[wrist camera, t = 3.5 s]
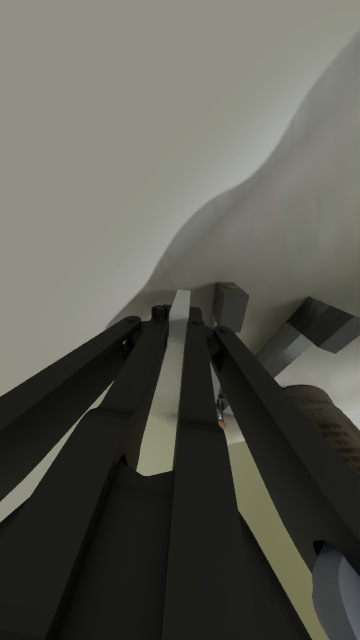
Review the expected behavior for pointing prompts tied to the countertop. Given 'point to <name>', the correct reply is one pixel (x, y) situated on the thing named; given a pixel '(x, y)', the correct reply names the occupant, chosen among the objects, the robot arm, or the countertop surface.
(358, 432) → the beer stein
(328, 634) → the robot arm
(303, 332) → the tongs base
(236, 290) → the tong arm
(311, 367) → the countertop surface
